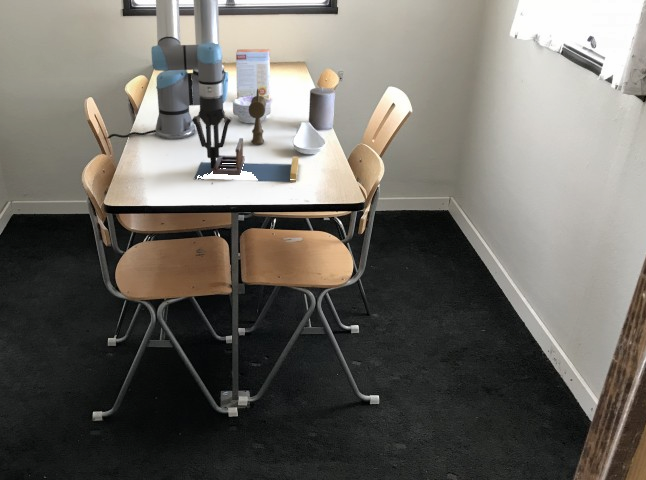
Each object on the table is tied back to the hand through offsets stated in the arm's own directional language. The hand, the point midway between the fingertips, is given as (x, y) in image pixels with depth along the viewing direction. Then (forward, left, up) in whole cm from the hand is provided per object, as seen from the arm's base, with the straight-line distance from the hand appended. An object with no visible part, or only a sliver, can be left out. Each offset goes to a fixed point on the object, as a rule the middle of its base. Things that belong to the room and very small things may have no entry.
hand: (213, 166), depth 240 cm
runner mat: (+11, 0, -2) cm, 11 cm away
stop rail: (+27, 0, -2) cm, 27 cm away
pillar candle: (+35, +52, -2) cm, 63 cm away
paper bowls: (+7, +58, -2) cm, 58 cm away
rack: (+5, 0, -2) cm, 5 cm away
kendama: (+12, +30, -2) cm, 32 cm away
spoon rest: (+30, +27, -2) cm, 41 cm away
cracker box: (+5, +86, -2) cm, 86 cm away
